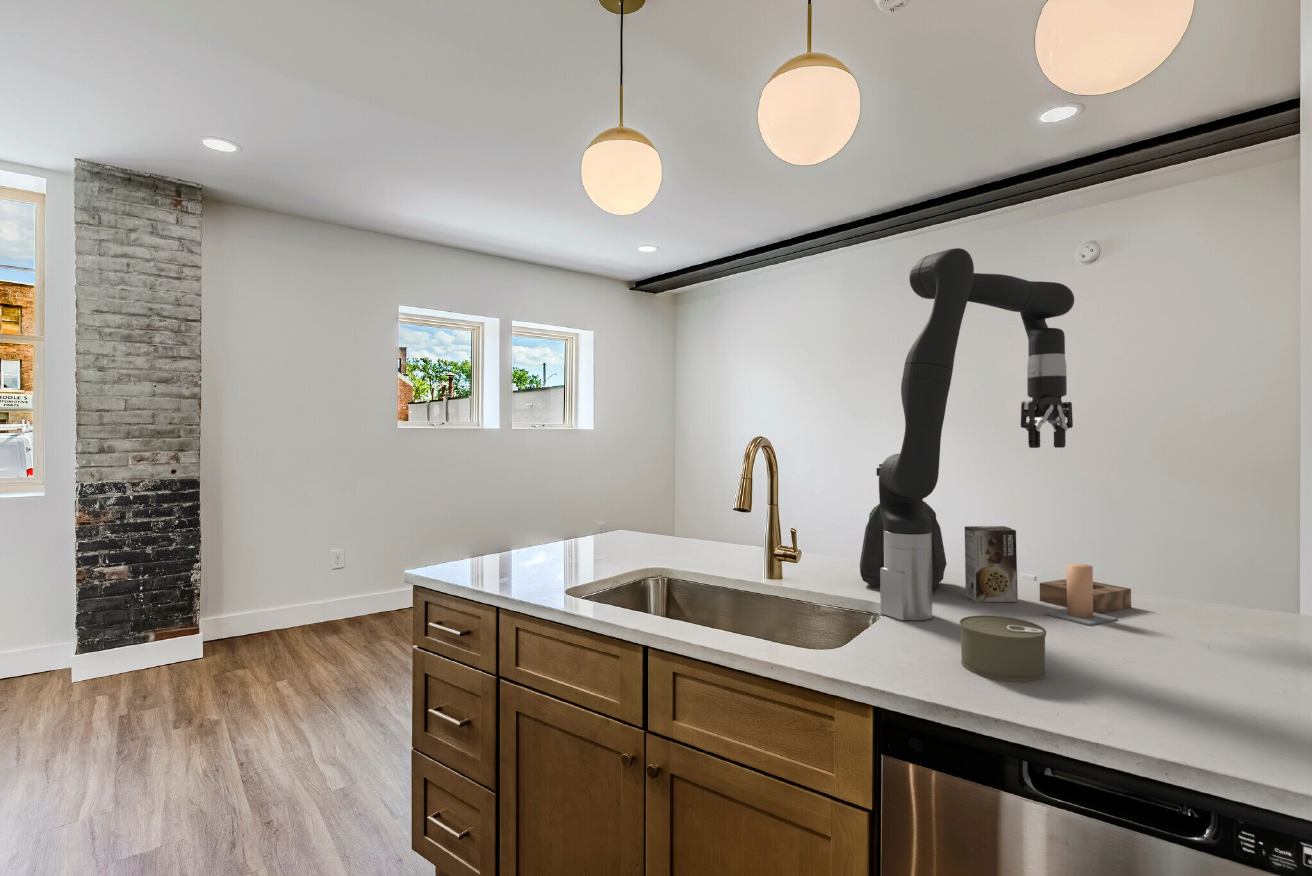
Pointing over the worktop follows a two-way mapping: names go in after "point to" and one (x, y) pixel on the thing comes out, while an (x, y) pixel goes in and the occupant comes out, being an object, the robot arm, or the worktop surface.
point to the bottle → (875, 548)
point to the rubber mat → (1086, 621)
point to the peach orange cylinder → (1080, 590)
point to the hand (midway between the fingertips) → (1047, 447)
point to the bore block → (1103, 595)
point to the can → (1003, 648)
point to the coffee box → (991, 564)
